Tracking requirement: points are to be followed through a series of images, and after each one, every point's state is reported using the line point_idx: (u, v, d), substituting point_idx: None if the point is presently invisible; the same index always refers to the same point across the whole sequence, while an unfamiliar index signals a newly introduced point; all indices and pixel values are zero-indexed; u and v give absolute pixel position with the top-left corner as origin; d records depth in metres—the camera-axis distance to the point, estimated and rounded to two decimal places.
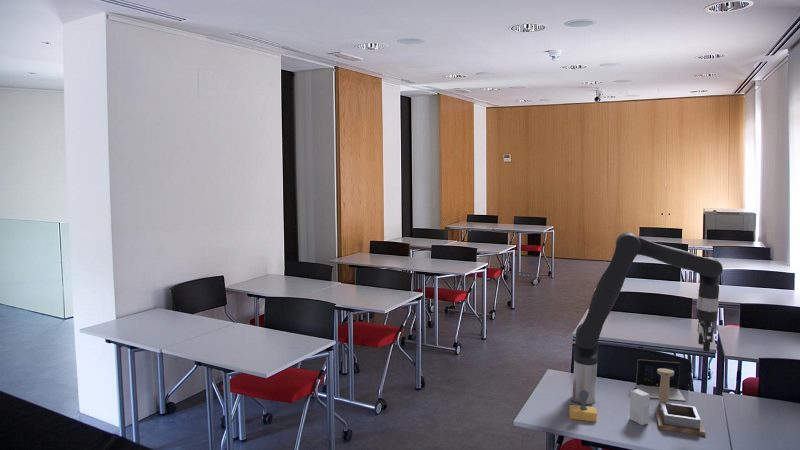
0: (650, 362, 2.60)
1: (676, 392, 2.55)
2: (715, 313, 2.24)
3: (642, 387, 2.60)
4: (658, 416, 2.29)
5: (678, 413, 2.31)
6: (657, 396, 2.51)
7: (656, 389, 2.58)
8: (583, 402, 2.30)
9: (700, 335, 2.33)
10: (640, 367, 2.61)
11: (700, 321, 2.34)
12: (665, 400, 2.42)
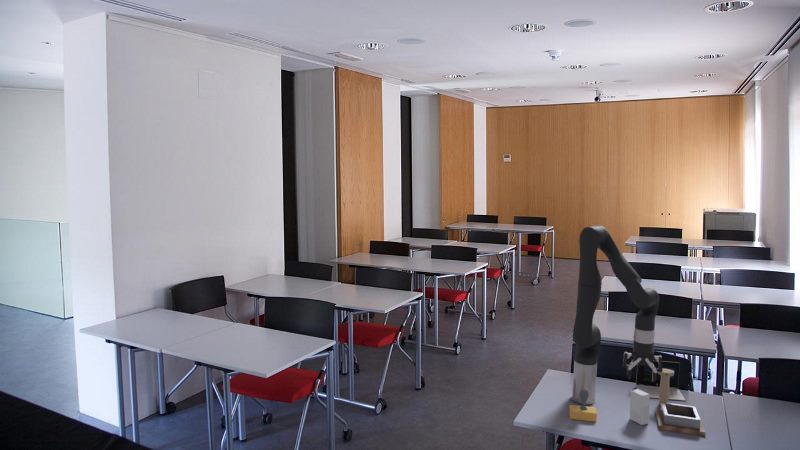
0: None
1: (676, 392, 2.55)
2: None
3: (642, 387, 2.60)
4: (658, 416, 2.29)
5: (678, 413, 2.31)
6: (657, 396, 2.51)
7: (656, 389, 2.58)
8: (583, 402, 2.30)
9: None
10: (640, 367, 2.61)
11: None
12: (665, 400, 2.42)
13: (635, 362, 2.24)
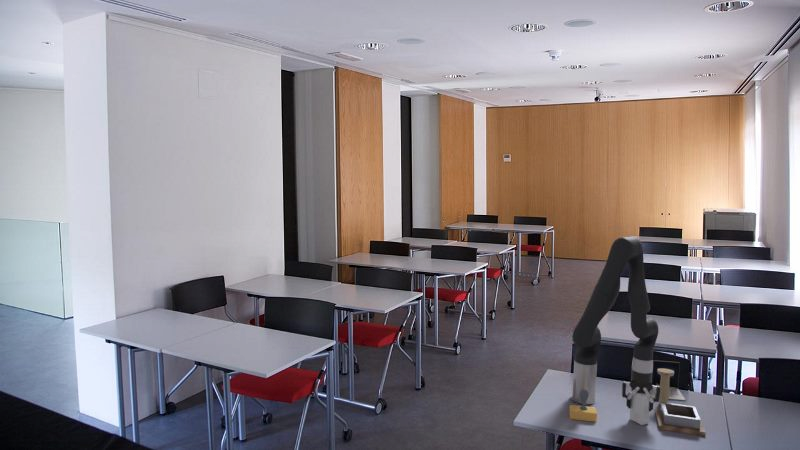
0: None
1: (676, 392, 2.56)
2: None
3: None
4: (658, 416, 2.29)
5: (678, 413, 2.31)
6: None
7: None
8: (583, 402, 2.30)
9: (630, 399, 2.28)
10: None
11: (625, 385, 2.27)
12: (665, 400, 2.42)
13: (634, 391, 2.26)
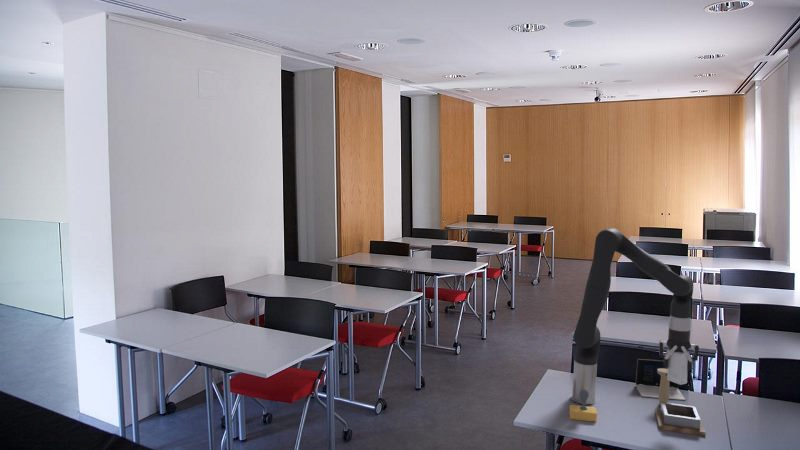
0: (650, 361, 2.61)
1: (676, 391, 2.56)
2: None
3: (642, 386, 2.61)
4: (658, 416, 2.29)
5: (678, 413, 2.31)
6: (657, 395, 2.51)
7: (656, 388, 2.59)
8: (583, 402, 2.30)
9: None
10: (640, 366, 2.62)
11: (662, 345, 2.23)
12: (665, 400, 2.42)
13: (671, 350, 2.22)
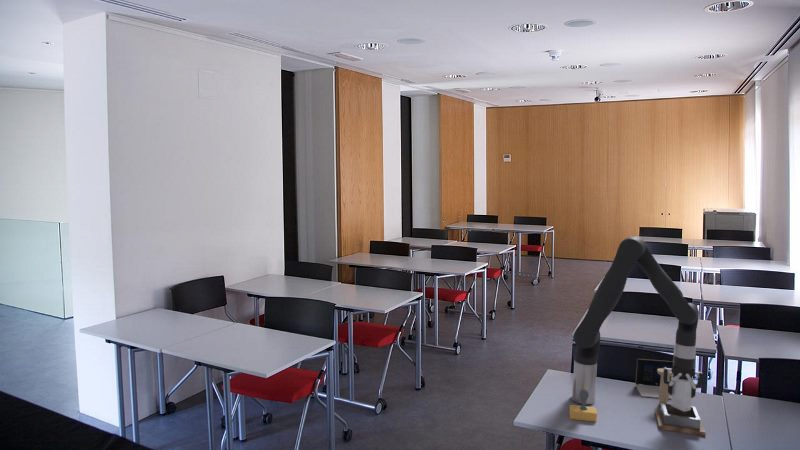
0: (650, 361, 2.61)
1: None
2: None
3: (642, 386, 2.61)
4: (658, 416, 2.29)
5: (678, 413, 2.31)
6: (657, 395, 2.52)
7: (656, 388, 2.59)
8: (583, 402, 2.30)
9: None
10: (640, 366, 2.62)
11: None
12: (665, 400, 2.42)
13: (676, 377, 2.23)
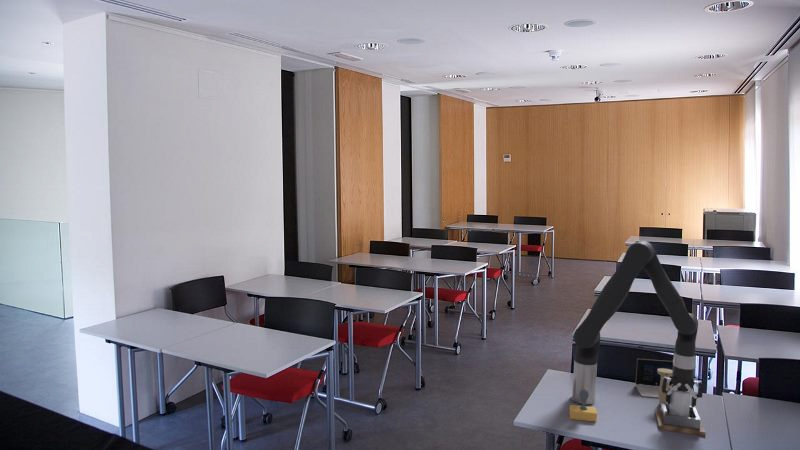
0: (649, 361, 2.61)
1: None
2: None
3: (642, 386, 2.61)
4: (658, 416, 2.29)
5: None
6: (657, 395, 2.52)
7: (655, 388, 2.59)
8: (583, 402, 2.30)
9: None
10: (640, 366, 2.62)
11: (666, 381, 2.25)
12: (665, 400, 2.42)
13: (675, 387, 2.24)
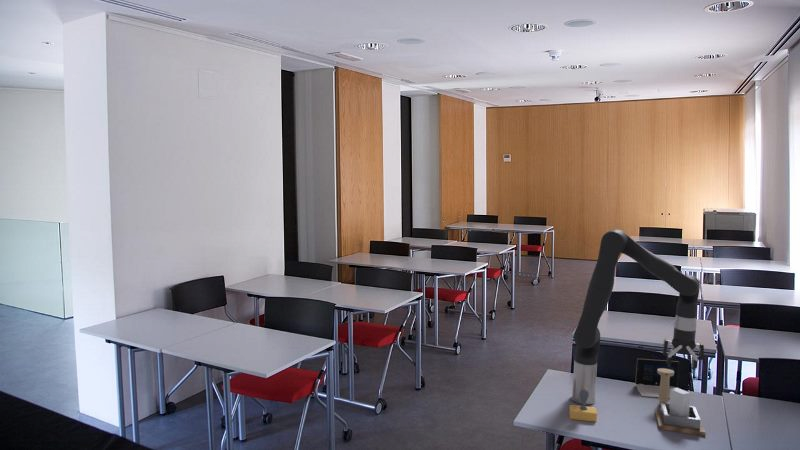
0: (649, 361, 2.61)
1: None
2: None
3: (641, 386, 2.61)
4: (658, 416, 2.29)
5: None
6: (657, 395, 2.52)
7: (655, 388, 2.60)
8: (583, 402, 2.30)
9: None
10: (639, 366, 2.62)
11: (667, 343, 2.24)
12: (665, 400, 2.42)
13: (676, 349, 2.23)
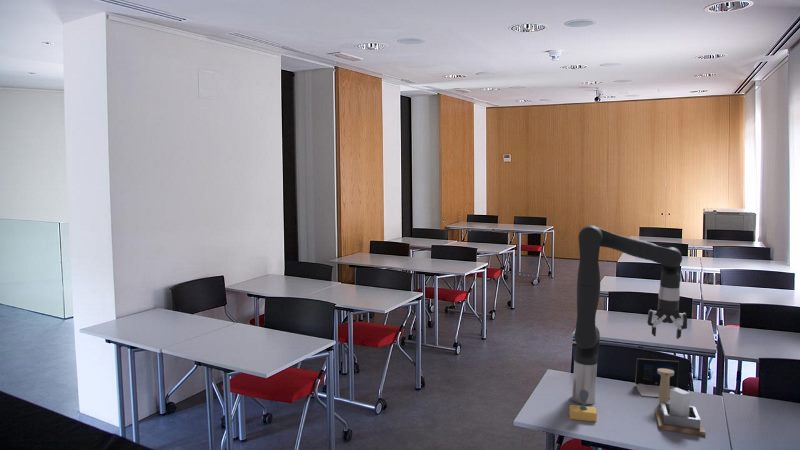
0: (649, 361, 2.61)
1: None
2: None
3: (641, 386, 2.62)
4: (658, 416, 2.29)
5: None
6: (657, 395, 2.52)
7: (655, 388, 2.60)
8: (583, 402, 2.30)
9: (655, 327, 2.32)
10: (639, 366, 2.62)
11: (652, 314, 2.32)
12: (665, 400, 2.42)
13: (660, 319, 2.30)
